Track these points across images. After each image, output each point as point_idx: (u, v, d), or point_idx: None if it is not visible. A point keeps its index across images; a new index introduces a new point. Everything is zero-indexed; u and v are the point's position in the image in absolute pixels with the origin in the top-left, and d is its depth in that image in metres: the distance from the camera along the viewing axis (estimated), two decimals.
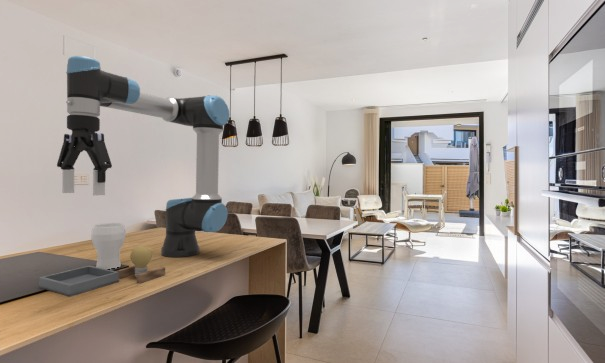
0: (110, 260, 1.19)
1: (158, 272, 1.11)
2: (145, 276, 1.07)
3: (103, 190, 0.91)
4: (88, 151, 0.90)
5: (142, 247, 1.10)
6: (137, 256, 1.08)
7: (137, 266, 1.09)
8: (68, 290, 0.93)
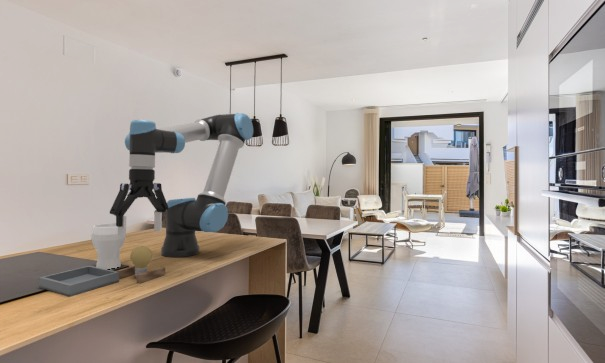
0: (110, 260, 1.19)
1: (158, 272, 1.11)
2: (145, 276, 1.07)
3: (122, 233, 1.04)
4: None
5: (142, 247, 1.10)
6: (137, 256, 1.08)
7: (137, 266, 1.09)
8: (68, 290, 0.93)
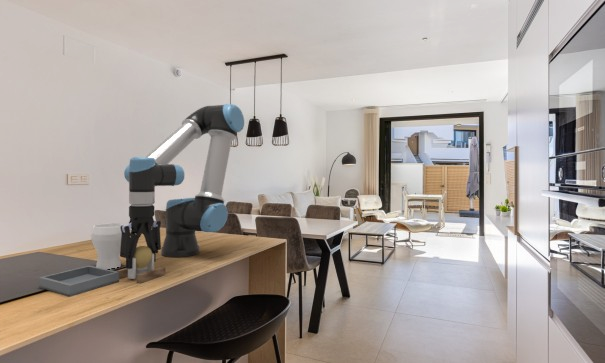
0: (110, 260, 1.19)
1: (158, 272, 1.11)
2: (145, 276, 1.07)
3: (132, 275, 1.07)
4: None
5: (142, 247, 1.10)
6: (137, 256, 1.08)
7: (137, 266, 1.09)
8: (68, 290, 0.93)
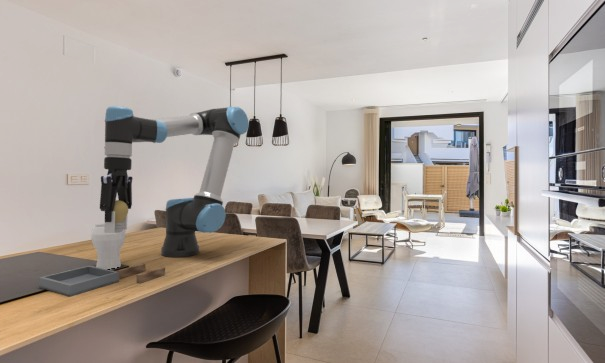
0: (110, 260, 1.19)
1: (158, 272, 1.11)
2: (145, 276, 1.07)
3: (112, 228, 1.03)
4: None
5: (119, 201, 1.06)
6: (116, 209, 1.04)
7: None
8: (68, 290, 0.93)
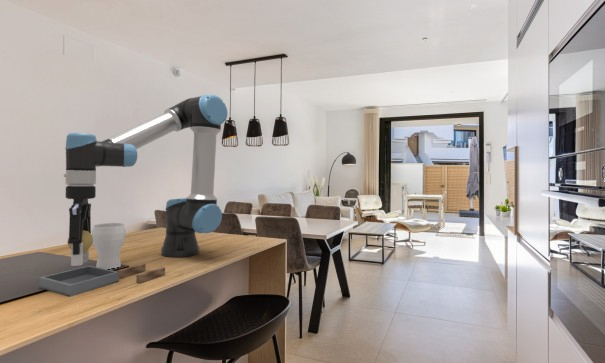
0: (110, 260, 1.19)
1: (158, 272, 1.11)
2: (145, 276, 1.07)
3: (80, 261, 0.99)
4: None
5: (83, 231, 1.02)
6: (83, 240, 1.00)
7: None
8: (68, 290, 0.93)
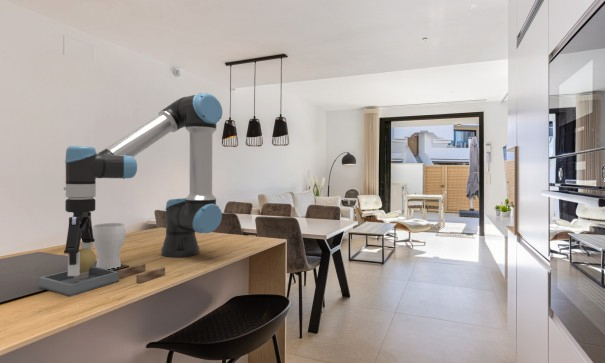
0: (110, 260, 1.19)
1: (158, 272, 1.11)
2: (145, 276, 1.07)
3: (77, 271, 0.96)
4: None
5: (87, 250, 1.02)
6: (86, 260, 1.00)
7: (81, 271, 1.01)
8: (68, 290, 0.93)
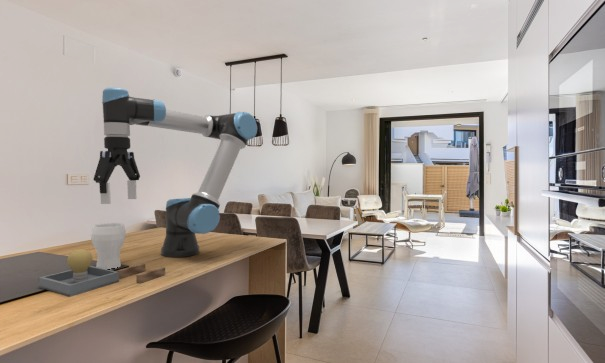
0: (110, 260, 1.19)
1: (158, 272, 1.11)
2: (145, 276, 1.07)
3: (107, 199, 1.06)
4: None
5: (83, 250, 1.02)
6: (82, 260, 1.00)
7: (80, 271, 1.01)
8: (68, 290, 0.93)
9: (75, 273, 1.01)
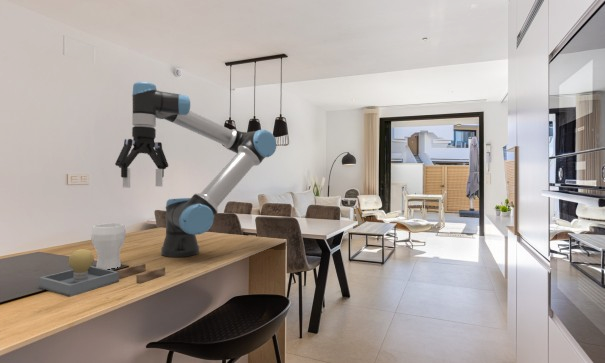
0: (110, 260, 1.19)
1: (158, 272, 1.11)
2: (145, 276, 1.07)
3: (127, 183, 1.15)
4: None
5: (85, 250, 1.02)
6: (84, 260, 1.00)
7: (81, 271, 1.01)
8: (68, 290, 0.93)
9: (76, 273, 1.01)
